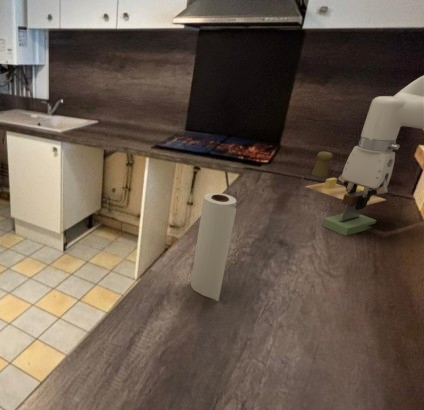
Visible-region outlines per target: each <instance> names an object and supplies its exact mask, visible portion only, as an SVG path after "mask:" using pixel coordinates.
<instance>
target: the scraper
mask: <svg viewBox="0 0 424 410" xmlns="http://www.w3.org/2000/svg"><path fill="white" fill-rule="evenodd" d="M362 193H363V191H358V192H354V193H349V194H345V195H344V198H343V200H342V201H341V203H342V204H344V206H345V204H346V206H345V207H344V210H343V212H342V214H343V215H342V218H341V221H340V222H342V223H343V222H346V221H350V220H354V219H358V218H359V215H360V214H361V212H362V209H360V210H356V209H355V207H356V204H357V201H358V199H359V197H360V196H362ZM370 198H371V196H370V197H369V199H368V201H370Z"/></svg>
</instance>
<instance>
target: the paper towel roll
mask: <svg viewBox="0 0 424 410" xmlns="http://www.w3.org/2000/svg"><path fill="white" fill-rule="evenodd" d="M237 202H238V201H237V198H235V197H234V196H232V195H229V194H226V193H222V192H221V193H220V192H209V193H206V194H205V195H203V201H202V207H201V213H200V219H199V226H198V233H197V239H196V244H195V245H196V246H195V252H194V258H193V263H192V264H193V265H192V271H191V272H192V273H191V278H190V287H191V288H192V290H193V291H195V292H196V293H197V294H199V295H201V296H203V297H206V298H210V299H212V300H214V301H216V302H219V301H220V295H221V290H222V285H223V280H224V275H225V271H226V270H225V269H226V265H227V260H228V255H229V250H230V245H231V241H232V240H231V239H232V234H233V230H234V225H235V220H236V215H237V208H236V206H237Z"/></svg>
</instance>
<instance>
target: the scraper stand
mask: <svg viewBox="0 0 424 410" xmlns="http://www.w3.org/2000/svg"><path fill="white" fill-rule="evenodd" d="M342 215H343V213H339V214H335V215H331V216H327V217H324V218H323V220H322V224H321V226H322V227H324V228H326V229H328V230H330V231H333V232H335V233H337V234H339V235H342V236H345V237H347V236H351V235H354V234H357V233H361V232H364V231H368V230H371V229H374V227H373V226H371V225H375V224H377V223H376V222H377V220H376V219H375V218H372V217H368V216H367V215H364V214H361V213H360V215H359V218H358V219H354V220H350V221H346V222H343V223H342V222H340V221H341V218H342Z"/></svg>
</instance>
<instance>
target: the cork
mask: <svg viewBox="0 0 424 410" xmlns="http://www.w3.org/2000/svg"><path fill="white" fill-rule="evenodd" d="M332 159H333V153H332V152H330V151H319V152H318V153H317V155H316V162H315V165H314V167H313V169H312V171H311V173H310V174H311V175H312V176H314V177H319V178H328V175H329V170H330V169H329V167H330V162H331V160H332Z"/></svg>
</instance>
